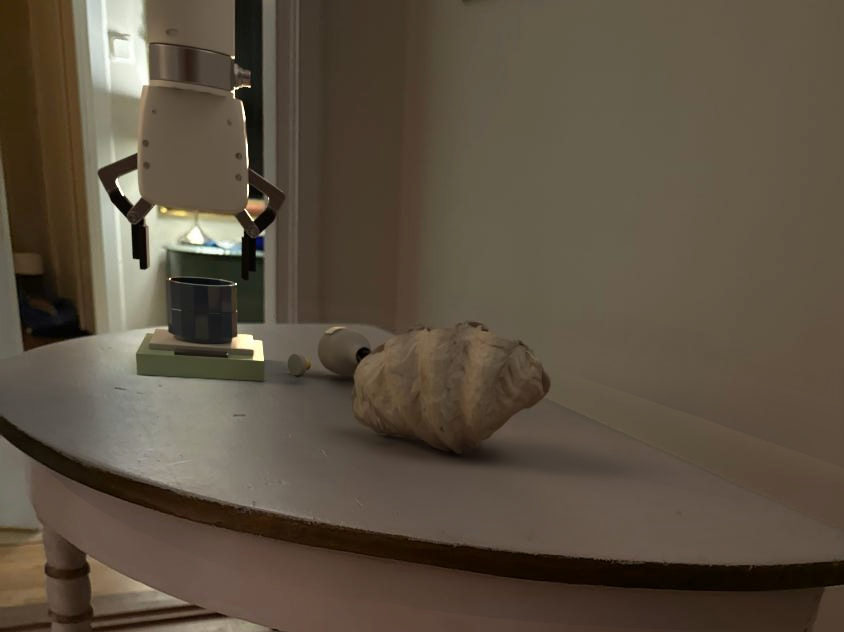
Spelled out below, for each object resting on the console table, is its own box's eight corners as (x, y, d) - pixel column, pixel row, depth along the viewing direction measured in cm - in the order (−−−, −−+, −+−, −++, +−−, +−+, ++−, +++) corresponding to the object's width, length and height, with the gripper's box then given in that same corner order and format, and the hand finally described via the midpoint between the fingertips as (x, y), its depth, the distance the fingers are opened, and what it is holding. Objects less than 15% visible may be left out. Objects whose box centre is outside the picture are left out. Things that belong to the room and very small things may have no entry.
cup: (166, 342, 90) (163, 282, 88) (171, 331, 96) (168, 274, 94) (237, 346, 92) (236, 287, 90) (237, 335, 98) (236, 280, 95)
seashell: (469, 478, 67) (482, 339, 63) (337, 431, 76) (341, 306, 71) (551, 459, 75) (569, 333, 70) (423, 418, 83) (431, 304, 79)
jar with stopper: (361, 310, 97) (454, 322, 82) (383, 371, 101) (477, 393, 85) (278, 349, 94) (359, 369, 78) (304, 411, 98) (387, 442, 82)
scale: (137, 374, 88) (135, 346, 87) (147, 352, 98) (146, 327, 97) (264, 381, 91) (264, 354, 90) (261, 359, 101) (261, 334, 100)
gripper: (286, 93, 89) (282, 279, 97) (97, 64, 85) (108, 261, 92) (290, 87, 83) (285, 287, 90) (85, 55, 78) (98, 268, 86)
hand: (195, 273), depth 91 cm, fingers open, 9 cm apart
